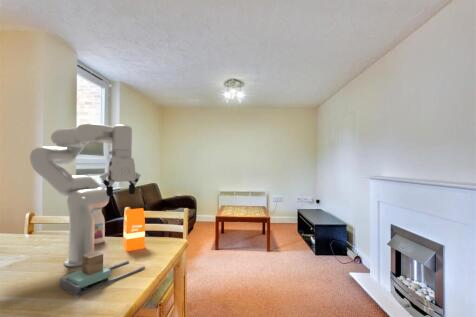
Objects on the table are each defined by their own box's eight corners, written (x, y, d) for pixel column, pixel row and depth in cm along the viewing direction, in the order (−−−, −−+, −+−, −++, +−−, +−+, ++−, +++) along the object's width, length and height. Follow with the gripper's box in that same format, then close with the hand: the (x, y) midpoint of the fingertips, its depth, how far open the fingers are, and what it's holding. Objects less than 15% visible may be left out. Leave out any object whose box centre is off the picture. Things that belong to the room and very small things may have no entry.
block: (81, 271, 90) (82, 255, 90) (95, 267, 94) (96, 251, 94) (88, 275, 87) (89, 258, 87) (102, 270, 91) (103, 253, 91)
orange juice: (144, 248, 127) (145, 209, 128) (126, 251, 122) (126, 210, 123) (141, 244, 134) (141, 207, 134) (123, 247, 129) (124, 208, 129)
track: (60, 286, 87) (60, 278, 87) (127, 262, 109) (127, 255, 109) (76, 296, 80) (76, 287, 80) (144, 268, 102) (144, 261, 102)
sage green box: (65, 286, 87) (66, 274, 87) (97, 274, 96) (97, 264, 96) (78, 293, 82) (78, 281, 82) (110, 280, 91) (110, 269, 92)
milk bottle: (92, 240, 140) (93, 204, 141) (106, 239, 141) (107, 204, 141) (85, 244, 132) (86, 207, 133) (100, 244, 133) (101, 206, 134)
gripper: (106, 153, 95) (105, 198, 95) (145, 155, 110) (144, 193, 109) (96, 153, 100) (95, 196, 99) (134, 155, 114) (134, 192, 114)
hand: (121, 195), depth 104 cm, fingers open, 9 cm apart
